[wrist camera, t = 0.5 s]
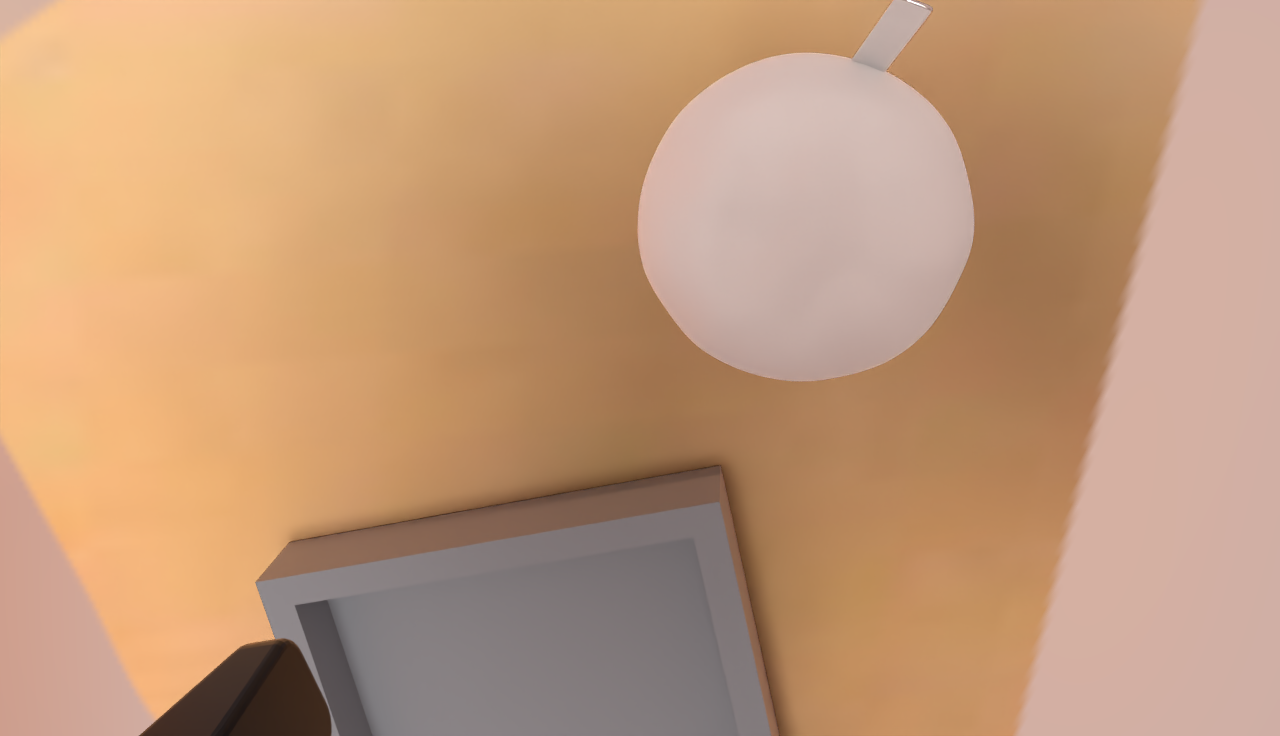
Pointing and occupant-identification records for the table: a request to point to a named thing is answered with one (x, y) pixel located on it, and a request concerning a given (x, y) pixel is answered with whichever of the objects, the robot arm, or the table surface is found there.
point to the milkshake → (809, 211)
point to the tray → (534, 618)
